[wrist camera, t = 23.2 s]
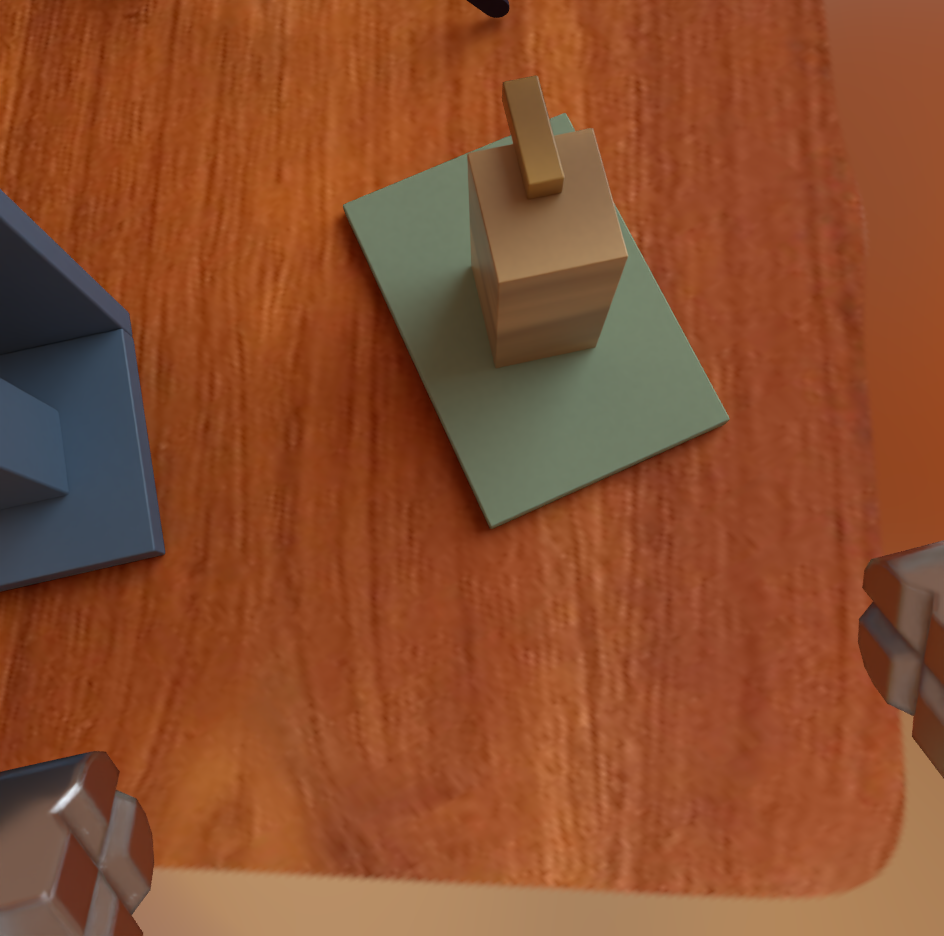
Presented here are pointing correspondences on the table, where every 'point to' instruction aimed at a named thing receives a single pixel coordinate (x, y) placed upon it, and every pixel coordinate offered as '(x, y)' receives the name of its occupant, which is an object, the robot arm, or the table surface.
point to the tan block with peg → (542, 235)
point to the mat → (534, 382)
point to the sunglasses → (492, 7)
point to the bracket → (67, 418)
